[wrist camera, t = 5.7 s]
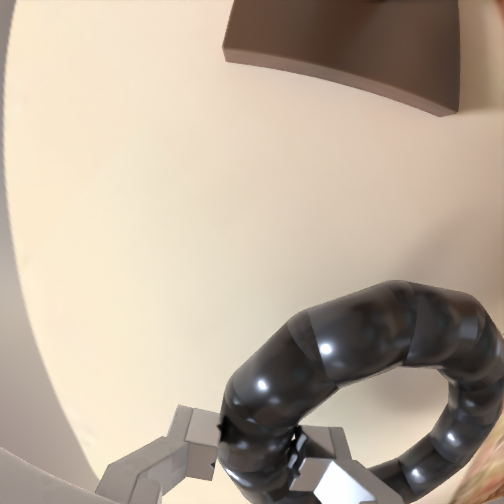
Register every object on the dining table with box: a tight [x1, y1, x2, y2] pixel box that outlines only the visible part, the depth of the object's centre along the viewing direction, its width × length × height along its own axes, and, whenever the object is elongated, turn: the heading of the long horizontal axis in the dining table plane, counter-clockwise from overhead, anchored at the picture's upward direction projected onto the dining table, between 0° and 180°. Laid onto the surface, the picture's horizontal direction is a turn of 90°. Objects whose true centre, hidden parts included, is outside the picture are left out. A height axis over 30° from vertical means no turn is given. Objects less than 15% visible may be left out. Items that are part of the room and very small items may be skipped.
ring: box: [217, 280, 504, 504], centre depth 10 cm, size 12×12×3 cm
